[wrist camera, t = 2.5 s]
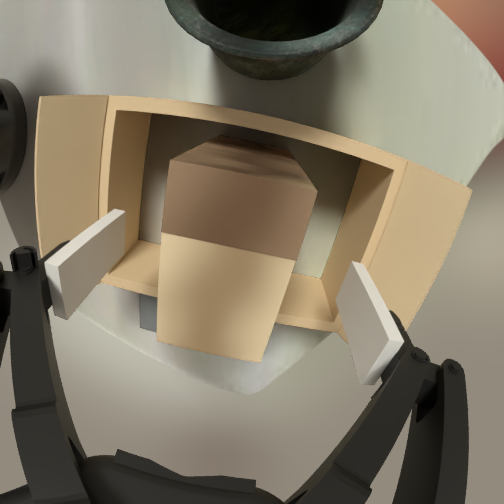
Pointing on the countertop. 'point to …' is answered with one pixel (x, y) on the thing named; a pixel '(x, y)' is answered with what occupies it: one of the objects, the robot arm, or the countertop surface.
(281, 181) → the block
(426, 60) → the countertop surface
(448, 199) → the carton
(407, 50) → the countertop surface
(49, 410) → the robot arm
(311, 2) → the mug
